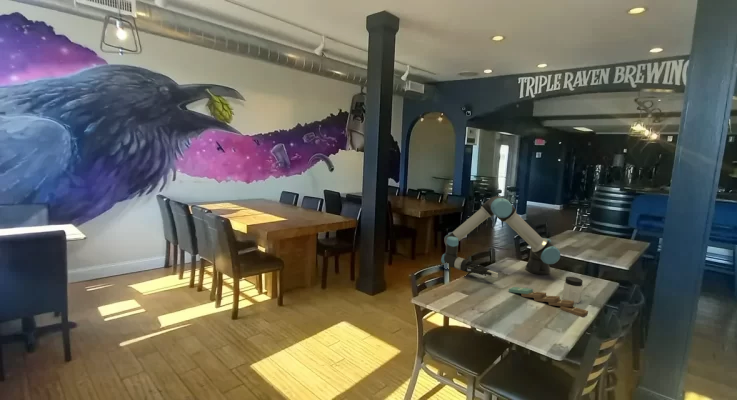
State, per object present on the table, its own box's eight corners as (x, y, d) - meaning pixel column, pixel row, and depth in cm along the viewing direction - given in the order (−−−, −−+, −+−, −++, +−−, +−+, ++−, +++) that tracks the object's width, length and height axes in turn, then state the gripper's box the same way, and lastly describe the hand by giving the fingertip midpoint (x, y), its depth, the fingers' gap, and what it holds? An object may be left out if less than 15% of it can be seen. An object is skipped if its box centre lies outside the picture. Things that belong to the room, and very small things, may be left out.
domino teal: (514, 286, 212) (532, 288, 203) (514, 289, 212) (532, 292, 203) (508, 288, 208) (527, 290, 200) (508, 292, 208) (527, 294, 200)
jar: (563, 301, 198) (566, 280, 197) (560, 295, 206) (563, 275, 204) (582, 304, 196) (585, 282, 194) (578, 298, 203) (581, 277, 202)
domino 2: (537, 294, 201) (559, 296, 194) (538, 298, 201) (559, 299, 194) (534, 297, 197) (556, 299, 190) (534, 301, 197) (556, 302, 189)
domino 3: (550, 298, 197) (573, 300, 191) (550, 302, 197) (574, 304, 191) (548, 301, 192) (572, 303, 186) (548, 305, 192) (572, 307, 186)
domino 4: (564, 303, 191) (588, 310, 183) (564, 307, 192) (587, 314, 184) (560, 306, 187) (584, 313, 179) (559, 310, 188) (583, 317, 180)
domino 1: (526, 290, 206) (545, 292, 198) (526, 294, 206) (546, 295, 198) (521, 293, 202) (541, 295, 194) (521, 296, 202) (541, 298, 194)
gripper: (468, 268, 238) (502, 279, 221) (456, 272, 230) (490, 283, 212) (469, 257, 237) (503, 267, 220) (457, 260, 229) (492, 271, 211)
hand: (497, 275), depth 216 cm, fingers closed
